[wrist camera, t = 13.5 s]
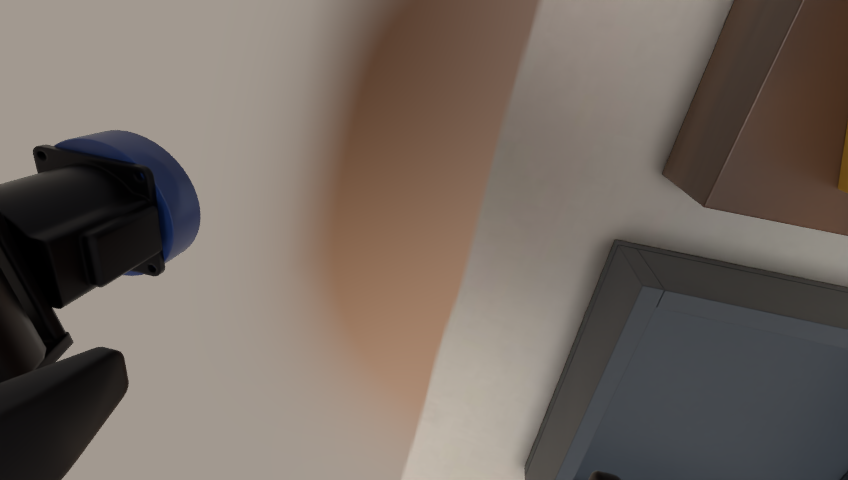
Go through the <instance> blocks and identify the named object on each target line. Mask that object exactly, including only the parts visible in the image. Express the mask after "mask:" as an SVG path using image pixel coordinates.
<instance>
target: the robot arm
mask: <svg viewBox="0 0 848 480" xmlns="http://www.w3.org/2000/svg"><path fill="white" fill-rule="evenodd" d="M33 155H34V159H35V163H36V168H37V171H38V174H35V175H32V176H28V177H24V178H21V179H17V180H14V181H10V182H7V183H4V184H0V480H61V479H62V478H63V477H64V476H65V475H66V473H67V472H68V471H69V470H70V468H71V467H72V465H73V464H74V463H75V462H76V461H77V459H78V458H79V457H80V455H81V454H82V453H83V451H84V450H85V448H86V447H87V446H88V444H89V443H90V442H91V440H92V439H93V438H94V436H95V435H96V433H97V432H98V431H99V429H100V428H101V427H102V425H103V424H104V423H105V421H106V420H107V418H108V417H109V416H110V414H111V413H112V412H113V410H114V409H115V408H116V406H117V405H118V404H119V402H120V401H121V399H122V398H123V397H124V395H125V393H126V391H127V388H128V384H129V383H128V376H127V371H126V365H125V360H124V356H123V354H122V353H121V352H119V351H117V350H113V349H109V348H105V347H97V348H94V349H91V350H88V351H85V352H83V353H80V354H77V355H75V356H72V357H69V358H66V359H63V360H61V361H58V362H56V361H57V360H58V359H59V358H60V357H61V355H62V354H63V353H64V352H65V351H66V350H67V349H68V348H69V347H70V346H71V345H72V343H73V340H72V338H71V336H70V334H69V333H68V332H65V330H64V328H63V327H62V325H61V323H60V321H59V319H58V317H57V315H56V313H55V312H54V310H53V308H58V309H61V308H63V307H64V306H66V305H68V304H69V303H71V302H73V301H74V300H76V299H78V298H79V297H81V296H83V295H84V294H86V293H87V292H89V291H91V290H92V289H94V288H96V287H103V286H105V285H107V284H109V283H110V282H112V281H113V280H115V279H116V278H118V277H120V276H121V275H123V274H125V273H126V272H128V271H133V272H138V273H142V274H146V275H151V276H158V275H159V274H161V273H162V272H164V270H165V263H164V255H163V246H162V238H161V230H160V222H159V213H158V205H157V197H156V188H155V180H154V175H153V172H152V171H151V169H150V168H148V167H147V166H144V165H140V164H135V163H131V162H126V161H121V160H116V159H112V158H107V157H102V156H98V155H93V154H88V153H83V152H79V151H74V150H69V149H64V148H60V147H55V146H50V145H41V146H36V147H35V148H34V149H33ZM141 173H142V174H143V176H144V178H143V177H142V176H141ZM52 307H53V308H52ZM588 480H621V479H620V478H619V477H618V476H616V475H614V474H610V473H606V472H602V471H594V472H592V474H591V475H590V477H589V479H588Z"/></svg>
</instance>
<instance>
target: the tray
mask: <svg viewBox="0 0 848 480" xmlns="http://www.w3.org/2000/svg"><path fill="white" fill-rule="evenodd" d="M524 469H525V480H588V479H589V477H590V475H591V474H592V472H594V471H602V472H606V473H610V474H614V475H616V476H618V477H619V478H620V479H621V480H848V288H845V287H841V286H836V285H831V284H826V283H821V282H817V281H812V280H807V279H802V278H797V277H792V276H788V275H783V274H778V273H773V272H768V271H764V270H759V269H754V268H749V267H744V266H739V265H735V264H730V263H725V262H720V261H715V260H711V259H706V258H701V257H696V256H691V255H687V254H682V253H677V252H672V251H667V250H662V249H658V248H653V247H648V246H643V245H638V244H634V243H629V242H624V241H619V240H615V241H614V244H613V246H612V249H611V251H610V254H609V256H608V259H607V261H606V264H605V266H604V269H603V271H602V274H601V276H600V279H599V282H598V284H597V287H596V289H595V292H594V294H593V297H592V299H591V302H590V304H589V307H588V309H587V312H586V314H585V317H584V319H583V322H582V324H581V327H580V329H579V332H578V334H577V337H576V340H575V342H574V345H573V347H572V350H571V352H570V355H569V357H568V360H567V362H566V365H565V367H564V370H563V372H562V375H561V377H560V380H559V382H558V385H557V387H556V390H555V393H554V395H553V398H552V400H551V403H550V405H549V408H548V410H547V413H546V415H545V418H544V420H543V423H542V425H541V428H540V430H539V433H538V435H537V438H536V440H535V443H534V446H533V448H532V451H531V453H530V456H529V458H528V461H527V463H526V466H525V468H524Z"/></svg>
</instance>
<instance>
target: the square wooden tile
mask: <svg viewBox="0 0 848 480" xmlns="http://www.w3.org/2000/svg"><path fill="white" fill-rule="evenodd" d="M847 122H848V0H735V1H734V3H733V6H732V8H731V10H730V13H729V15H728V18H727V20H726V22H725V25H724V27H723V30H722V32H721V34H720V37H719V39H718V42H717V44H716V46H715V49H714V51H713V53H712V56H711V58H710V61H709V63H708V65H707V68H706V70H705V73H704V75H703V77H702V80H701V82H700V85H699V87H698V89H697V92H696V94H695V96H694V99H693V101H692V104H691V106H690V108H689V111H688V113H687V116H686V118H685V120H684V123H683V125H682V128H681V130H680V132H679V135H678V137H677V139H676V142H675V144H674V147H673V149H672V151H671V154H670V156H669V159H668V161H667V163H666V166H665V168H664V171H663V173H662V174H663V175H664V176H665V177H666V178H668V179H669V180H670V181H671V182H673V183H674V184H675V185H676V186H678V187H679V188H680V189H682V190H683V191H684V192H685V193H687V194H688V195H689V196H690V197H692V198H693V199H694V200H696V201H697V202H698V203H699V204H701V205H702V206H703V207H706V208H711V209H716V210H721V211H726V212H731V213H736V214H741V215H746V216H751V217H756V218H761V219H766V220H771V221H776V222H781V223H786V224H791V225H796V226H801V227H806V228H811V229H816V230H821V231H826V232H831V233H836V234H841V235H846V236H848V193H846V192H843V191H841V190H839V189H838V183H839V176H840V169H841V162H842V156H843V149H844V142H845V135H846V129H847Z"/></svg>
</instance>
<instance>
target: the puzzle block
mask: <svg viewBox="0 0 848 480" xmlns="http://www.w3.org/2000/svg"><path fill="white" fill-rule="evenodd" d="M838 189H839V190H841V191H843V192H846V193H848V122H847V129H846V135H845V142H844V149H843V156H842V162H841V169H840V176H839V183H838Z"/></svg>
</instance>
